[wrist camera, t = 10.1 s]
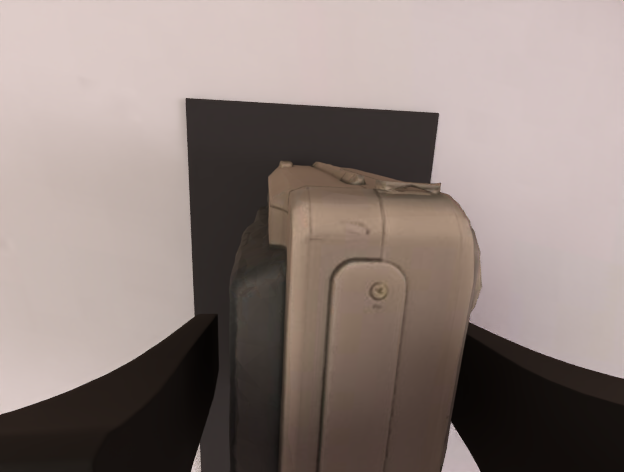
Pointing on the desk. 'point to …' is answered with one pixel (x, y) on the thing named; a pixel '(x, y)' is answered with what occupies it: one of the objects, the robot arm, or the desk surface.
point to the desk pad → (254, 190)
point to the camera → (348, 323)
